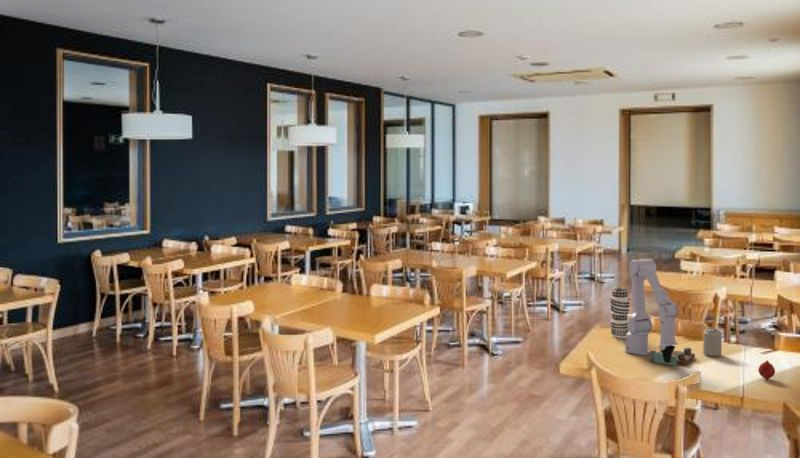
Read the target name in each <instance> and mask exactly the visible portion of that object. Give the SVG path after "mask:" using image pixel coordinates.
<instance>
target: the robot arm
mask: <svg viewBox="0 0 800 458" xmlns="http://www.w3.org/2000/svg"><path fill="white" fill-rule="evenodd" d="M628 267H629V277H631V292H632V293H631V294H632V307H633V308H632V309H633V312H632V313H631V314H630V315H629V316H628V324H627V328H628V330H629V331H628V333H627V335H626V338H625V351H624V353H626V354H632V355H633V354H634V355H639V356H647V355H648V354H650V351H651V350H649V335H650V333H651V332H652V330H653V323H652V320H651V319H652V318H651V315H649V314H648V313H646V299H645V283H644V281H645V280H644V279H646V280H647V282H648V284H649V285H650V288H651V289H652V290H653V293H652V296H653V299H654V300H655V302H656V304H657V306H658V309H657V314H658V315H659V321H660V335H659V336H660V338H659V345H658V349H659V350H660V351H662V354H663V358H664V362H667V363H669V362H670V360H671V355H672V352H673V350H674V351H675V348H676V346H675V345H678V342H676V336H675V335H676V334H675V333H676V332H675V331H676V327H675V326H676V317H677V316H678V314H679V308H678V306H677V304H676V303H674V302H673V301H672V300H671V298H670V296H669V294H668V292H667V290H666V289H665V288H663V287H662V286H661V283H660V279H659V278H658V275H657V272H656V271H657V265H656V262H655V260H654V259H653V258H652V257H651V258H644V259H643V258H641V259H632V260H631V261H630V263H629V266H628Z"/></svg>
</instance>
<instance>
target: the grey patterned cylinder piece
mask: <svg viewBox="0 0 800 458" xmlns="http://www.w3.org/2000/svg"><path fill="white" fill-rule="evenodd" d="M629 291H630V290H629V289H628V288H627V287H625V286H618V285H617V286H615V287H613V289H611V297H610V299H609V300H610V304H611V305H610V307H611V308H610V310H611V312H610V314H611V322H610V324H611V325H610V327H611V328H610V337H612V336H613V338H616V337H617V339H626V335H627V333H628V332H629V330H628V328H627V324H628V317H629V316H628V315H629V311H630V309H628V308H629V307H630V302H629V301H630V300H631V299H630V298H629Z"/></svg>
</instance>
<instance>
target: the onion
mask: <svg viewBox="0 0 800 458" xmlns="http://www.w3.org/2000/svg"><path fill="white" fill-rule="evenodd" d="M757 371H758V373H759V374H760V377H762V378H763V379H765V380H766V381H767V380H769V379H771V378H772V377H774V376H775V374H776V369H775V366H774V365H773V364H772V363H771V362H769V360H765V361H764V362H762V363H761V364H760V365H759V367H758V370H757Z"/></svg>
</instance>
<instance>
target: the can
mask: <svg viewBox="0 0 800 458" xmlns="http://www.w3.org/2000/svg"><path fill="white" fill-rule="evenodd" d="M722 340H723V334H722V332H721V329H720V328H716V327H707V328H705V329H704V331H703V344H702V345H703V346H702V347H703V348H702V353H703V354H704V355H705V356H707V357H711V358H717V357H716V356H718V357H720V356H721V355H722V350H723V349H722V348H723V347H722V343H723V341H722Z"/></svg>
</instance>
